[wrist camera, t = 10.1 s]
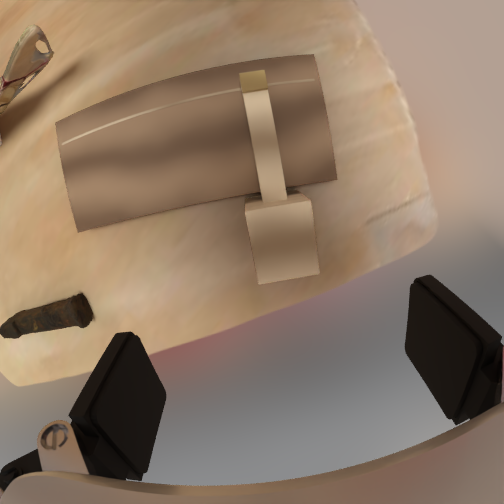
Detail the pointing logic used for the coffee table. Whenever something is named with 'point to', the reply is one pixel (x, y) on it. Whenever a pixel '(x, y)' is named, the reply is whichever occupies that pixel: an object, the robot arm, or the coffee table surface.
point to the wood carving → (23, 65)
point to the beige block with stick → (275, 198)
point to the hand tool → (49, 317)
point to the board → (190, 141)
